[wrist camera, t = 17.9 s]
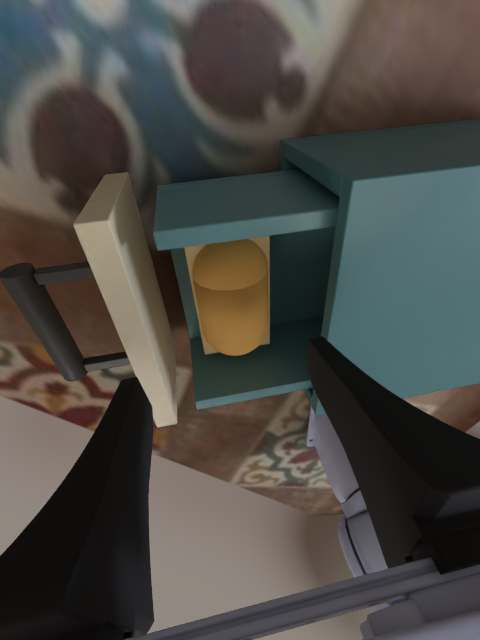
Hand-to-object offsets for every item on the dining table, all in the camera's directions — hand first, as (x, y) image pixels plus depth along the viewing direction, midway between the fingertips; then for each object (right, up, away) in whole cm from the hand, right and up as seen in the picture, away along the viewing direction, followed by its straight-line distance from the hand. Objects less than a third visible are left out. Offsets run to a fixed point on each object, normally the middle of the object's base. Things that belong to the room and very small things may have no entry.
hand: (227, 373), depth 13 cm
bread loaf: (0, +5, +6) cm, 8 cm away
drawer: (-1, +6, +7) cm, 9 cm away
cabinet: (+11, +8, +9) cm, 16 cm away
